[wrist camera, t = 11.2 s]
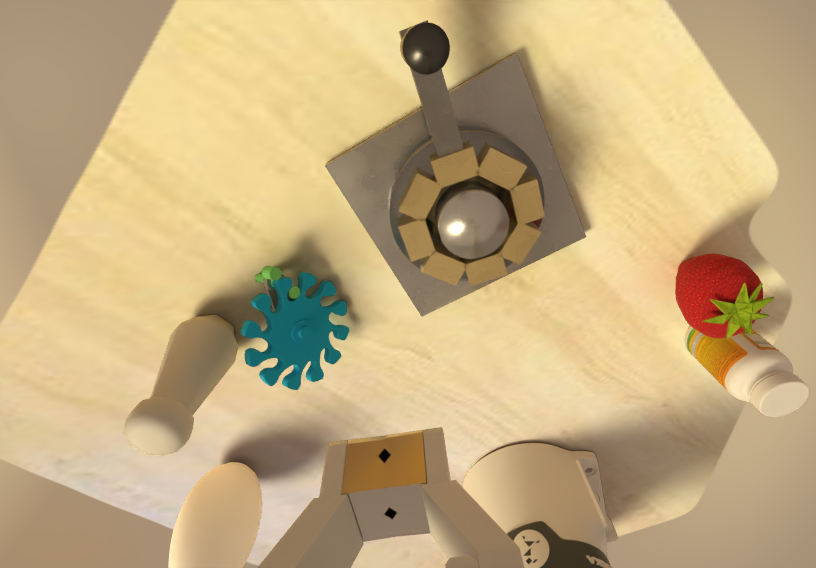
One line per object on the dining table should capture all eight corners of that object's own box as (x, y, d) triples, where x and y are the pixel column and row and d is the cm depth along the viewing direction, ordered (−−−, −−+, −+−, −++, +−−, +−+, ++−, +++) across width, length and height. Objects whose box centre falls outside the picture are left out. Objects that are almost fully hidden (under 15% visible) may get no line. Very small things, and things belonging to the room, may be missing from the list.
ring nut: (491, -6, 28) (518, -16, 22) (546, 249, 36) (575, 288, 31) (335, 56, 29) (324, 61, 23) (424, 289, 38) (431, 333, 32)
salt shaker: (201, 363, 44) (138, 477, 33) (167, 317, 41) (86, 424, 30) (255, 346, 43) (211, 456, 32) (225, 298, 41) (164, 400, 29)
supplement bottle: (684, 360, 47) (751, 432, 39) (680, 321, 45) (750, 388, 36) (738, 343, 46) (818, 412, 38) (736, 302, 44) (821, 366, 35)
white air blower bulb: (267, 443, 50) (215, 632, 34) (276, 489, 54) (232, 679, 38) (195, 445, 49) (107, 637, 34) (208, 492, 53) (136, 684, 37)
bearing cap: (582, 233, 39) (613, 263, 34) (421, 312, 43) (426, 350, 37) (513, 53, 32) (539, 56, 27) (326, 163, 35) (316, 185, 30)
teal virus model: (365, 354, 43) (273, 416, 36) (328, 342, 47) (241, 395, 41) (332, 244, 39) (224, 292, 32) (296, 241, 43) (193, 283, 37)
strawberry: (657, 311, 44) (725, 380, 35) (641, 248, 40) (712, 307, 32) (718, 286, 43) (805, 350, 34) (707, 219, 39) (800, 272, 31)
